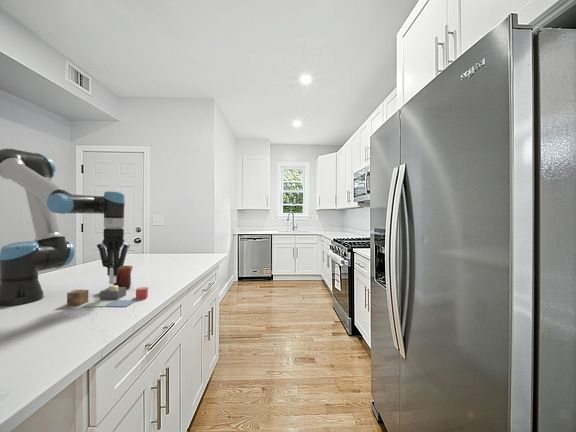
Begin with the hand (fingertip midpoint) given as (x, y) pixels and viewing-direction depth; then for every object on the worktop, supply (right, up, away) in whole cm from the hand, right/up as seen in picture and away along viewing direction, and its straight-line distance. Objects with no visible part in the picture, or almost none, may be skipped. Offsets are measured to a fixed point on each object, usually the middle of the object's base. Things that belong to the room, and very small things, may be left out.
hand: (112, 283), depth 129 cm
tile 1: (0, -6, -9) cm, 11 cm away
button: (0, -5, 0) cm, 5 cm away
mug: (-4, -6, +13) cm, 15 cm away
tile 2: (+9, -6, -9) cm, 14 cm away
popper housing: (0, -6, 0) cm, 6 cm away
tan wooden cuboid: (-8, -6, -9) cm, 14 cm away
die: (+12, -6, 0) cm, 14 cm away
